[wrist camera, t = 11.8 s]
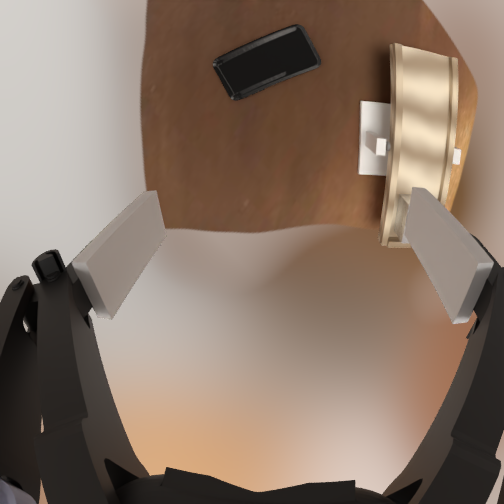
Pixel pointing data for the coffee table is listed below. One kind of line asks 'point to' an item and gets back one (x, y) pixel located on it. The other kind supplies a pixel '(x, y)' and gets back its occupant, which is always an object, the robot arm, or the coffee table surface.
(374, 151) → the stand
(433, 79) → the beam
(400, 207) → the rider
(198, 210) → the coffee table surface
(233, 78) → the phone
